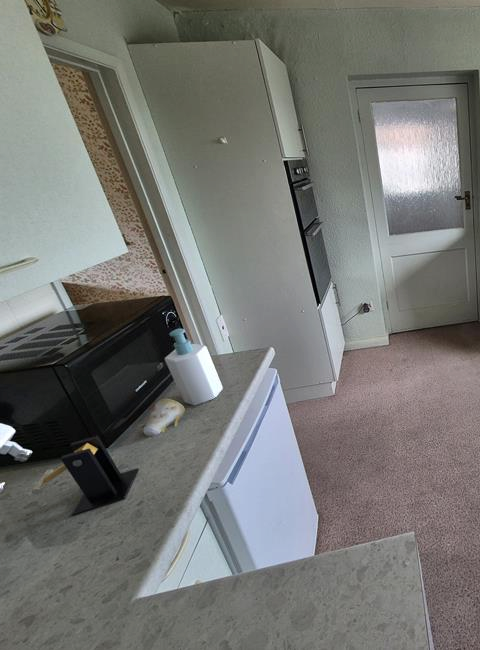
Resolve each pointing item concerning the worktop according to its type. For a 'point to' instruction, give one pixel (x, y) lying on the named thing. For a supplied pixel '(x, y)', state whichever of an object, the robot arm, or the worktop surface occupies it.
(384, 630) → the worktop surface
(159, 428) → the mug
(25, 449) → the robot arm
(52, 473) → the tap lever
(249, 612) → the worktop surface
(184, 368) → the soap bottle
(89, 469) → the bracket
